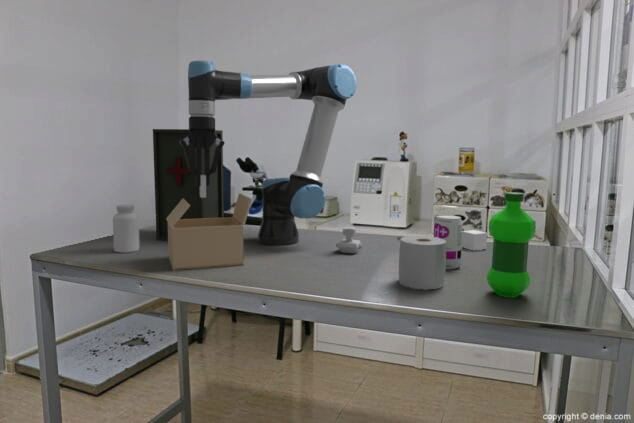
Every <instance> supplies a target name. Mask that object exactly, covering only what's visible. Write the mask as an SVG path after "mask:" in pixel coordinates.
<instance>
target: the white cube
mask: <svg viewBox="0 0 634 423" xmlns="http://www.w3.org/2000/svg"><path fill="white" fill-rule="evenodd" d="M487 239H488V233H487V232H484V231H481V230H476V229H472V230H470V229H469V230H462V247H464V248H467V249H470V250H469V251H471V250H473V251H472V252H475V251H474V250H480V251H483V250H482V249H486V250H487V244H488V242H487V241H488V240H487ZM467 249H466V250H467Z"/></svg>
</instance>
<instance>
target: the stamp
mask: <svg viewBox="0 0 634 423" xmlns="http://www.w3.org/2000/svg"><path fill="white" fill-rule="evenodd" d="M356 233H357V227H354V226H345V227H343V228H342V235H343V236H345V237H346V238H342V239H341V240H340V241H339V242H337V243H336V244H335V247H336V248H338V250H339V251H340V252H341V253H343V254H349V255H350V254H355V253H357V251H358V250H362V249H363V247H364V246H363V244H362V243H361V240H360V239H353V236H354V235H355V234H356Z"/></svg>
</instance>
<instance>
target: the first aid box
mask: <svg viewBox="0 0 634 423" xmlns="http://www.w3.org/2000/svg"><path fill="white" fill-rule="evenodd" d="M215 132H216V135H217V138H218V139H220V140H221V141H224V140H223V130H222V129H221V130H220V129H219V130H218V129H215ZM188 133H189V128H186V129H185V128H183V129H181V128H180V129H178V128H173V129H172V128H171V129H170V128H152V142H153V144H152V146H153V148H152V149H153V169H154V170H153V173H154V174H153V175H154V176H153V177H154V178H153V180H154V205H155V206H154V207H155V208H154V210H155V234H156V238H155V239H156V240H157V241H168V221H167V220H166V218H167V217H168V216H169V214H170V213H171V212H172V211H173V210H174V208H175V207H176V206H177V205H178V204H179V202H180V201H181V200H182V199H184V200H185V201H186V202H187V203H188V204H189V205H190V207H189V208H188V209H187V211H186V212H185V213H184V214H183V215H182V217H181V218H180V219H200V218H223V217H225V216H224V215H225V214H224V213H225V212H224V209H225V208H224V206H225V205H224V155H223V154H224V146H223V147H222V148H221V152H220V156H219V160H218V164H217V169H216V172H215V173H212V174H210V184H209V186H206V197H205V198H201V197H200V186H197V185H196V175H195V174H194V173H191V172H190V171H189V167H188V164H187V160H186V156H185V152H184V148H183V147H182V145H181V144H180V140H183V139H185V138H186V137H187V135H188ZM188 142H189V145H188V148H189V151H190V155H191V159H192V163H193V167H194V169H195V170H196V167H195V147H194V146H193V145H192V143H191V142H190V141H188ZM215 144H216V141H215V142H214V143H213V145H212V146H211V147H210V169H211V166H212V162H213V157H214V153H215V149H216V145H215ZM201 175H205V173H204V148H201Z"/></svg>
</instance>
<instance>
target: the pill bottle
mask: <svg viewBox="0 0 634 423" xmlns="http://www.w3.org/2000/svg"><path fill="white" fill-rule="evenodd" d="M116 212H117V213H115V214H114V215H113V217H112V231H113V232H112V233H113V234H112V235H113V236H112V237H113V251H114V252H115V253H120V254H121V253H123V254H124V253H135V252H138V251H139V250H140V219H139V218H140V217H139V215H138V214H137V213H135V205H133V204H118V205H117V206H116Z"/></svg>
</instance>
